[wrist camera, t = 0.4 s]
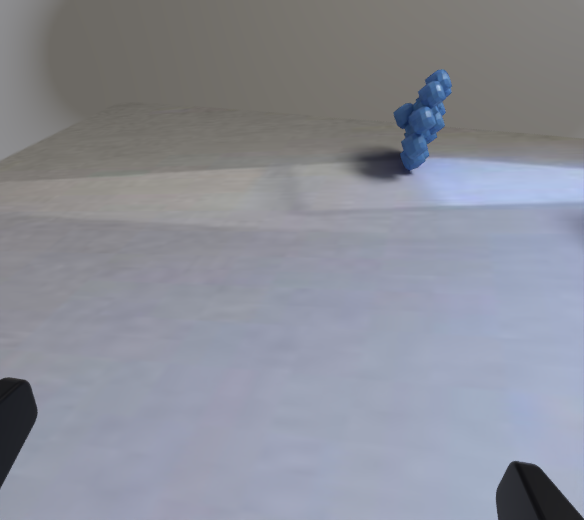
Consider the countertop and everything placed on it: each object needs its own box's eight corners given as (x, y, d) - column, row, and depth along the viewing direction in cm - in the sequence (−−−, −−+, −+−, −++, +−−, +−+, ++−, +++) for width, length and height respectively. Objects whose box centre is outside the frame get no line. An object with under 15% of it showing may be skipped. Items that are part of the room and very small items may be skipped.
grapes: (393, 142, 67) (416, 56, 60) (438, 154, 65) (467, 67, 58) (370, 169, 58) (393, 72, 51) (421, 185, 56) (453, 86, 49)
